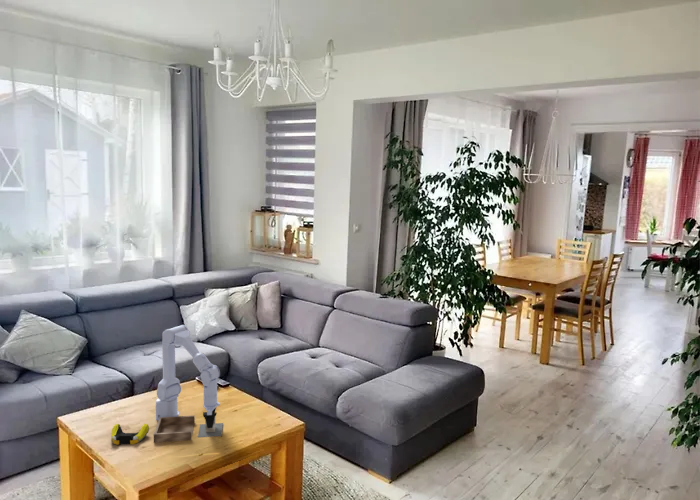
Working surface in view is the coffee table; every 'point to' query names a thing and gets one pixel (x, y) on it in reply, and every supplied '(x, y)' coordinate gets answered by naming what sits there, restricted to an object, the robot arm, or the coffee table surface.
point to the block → (210, 428)
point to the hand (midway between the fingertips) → (210, 423)
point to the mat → (208, 434)
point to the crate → (174, 428)
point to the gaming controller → (128, 435)
